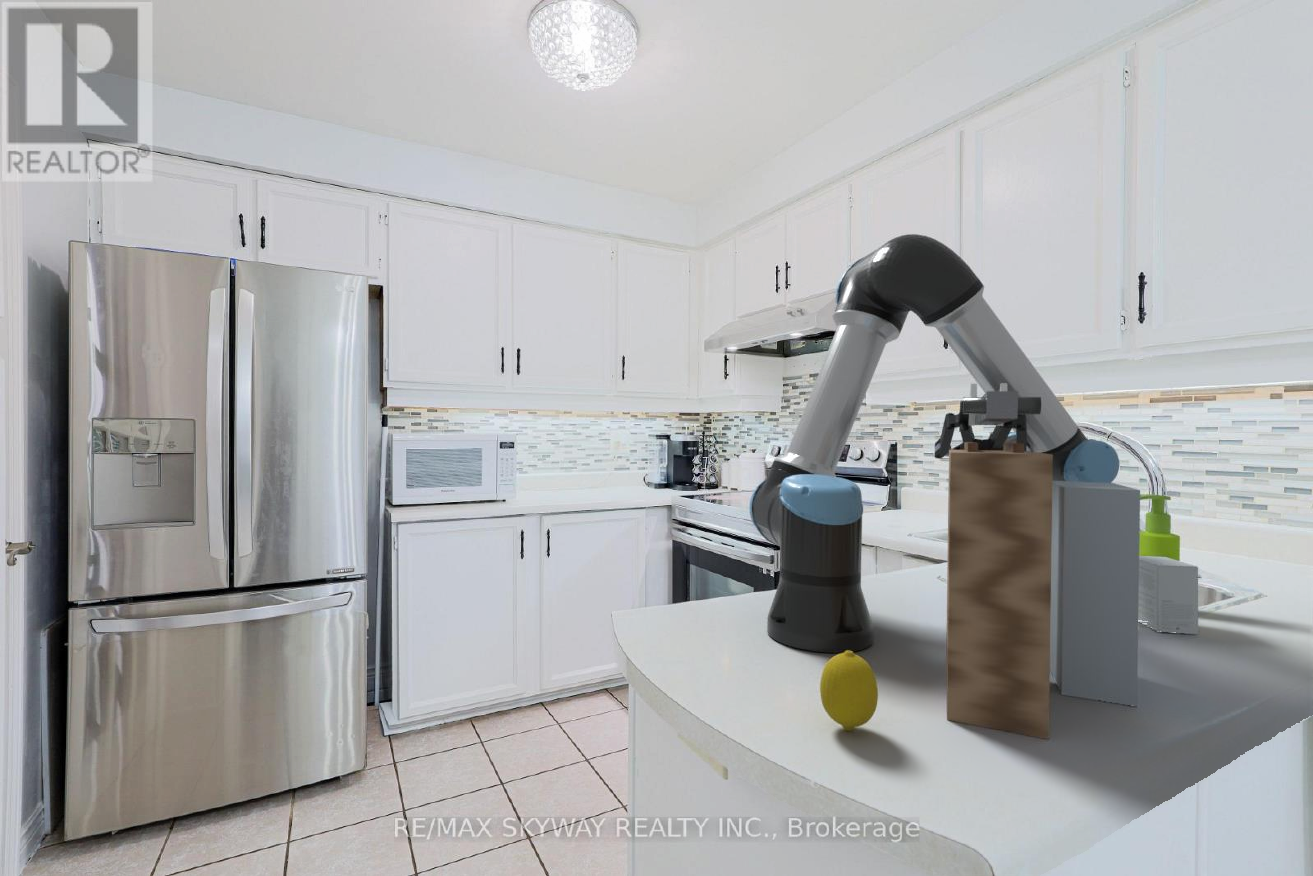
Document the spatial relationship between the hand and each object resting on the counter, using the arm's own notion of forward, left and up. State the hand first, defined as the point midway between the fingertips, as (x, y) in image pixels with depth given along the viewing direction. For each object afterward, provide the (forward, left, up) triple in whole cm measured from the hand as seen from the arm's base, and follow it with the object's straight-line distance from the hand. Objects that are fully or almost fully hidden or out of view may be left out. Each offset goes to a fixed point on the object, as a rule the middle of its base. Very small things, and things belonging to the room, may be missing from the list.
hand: (988, 391), depth 80 cm
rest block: (+11, -2, -36) cm, 37 cm away
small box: (+26, +30, -36) cm, 54 cm away
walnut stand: (0, -12, -36) cm, 38 cm away
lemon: (-14, -28, -36) cm, 48 cm away
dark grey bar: (0, -6, -4) cm, 8 cm away
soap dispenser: (+28, +42, -36) cm, 62 cm away
